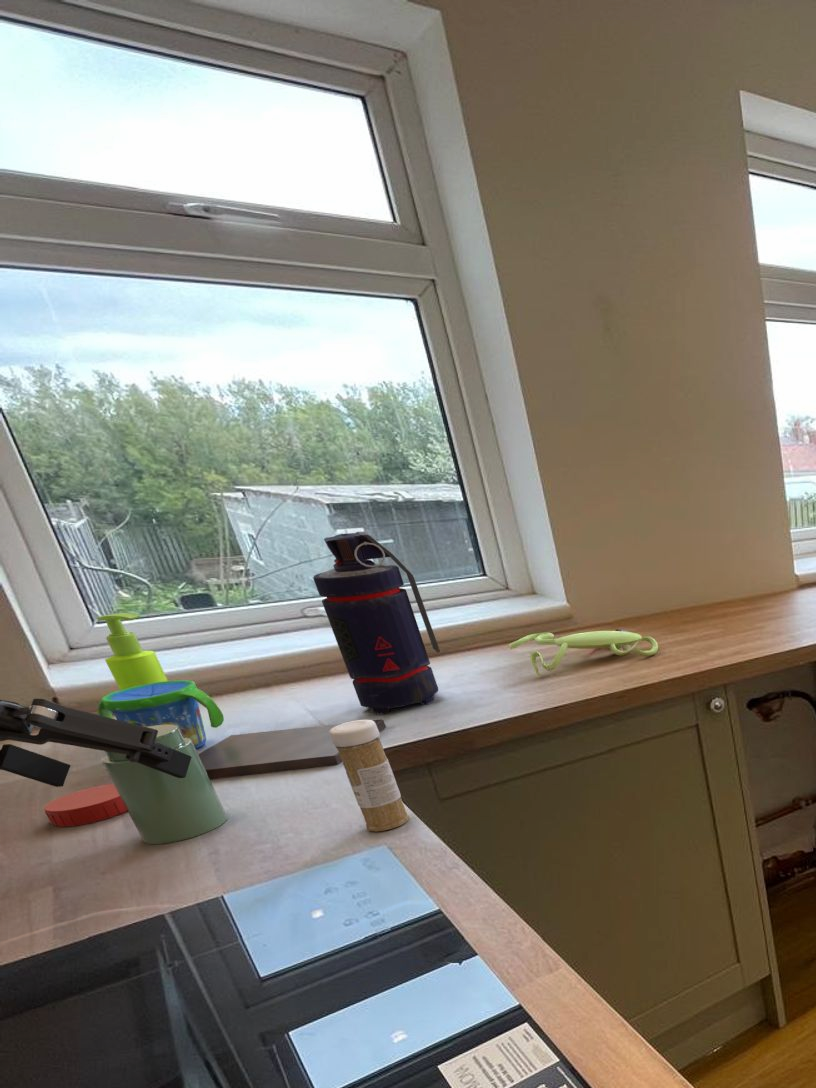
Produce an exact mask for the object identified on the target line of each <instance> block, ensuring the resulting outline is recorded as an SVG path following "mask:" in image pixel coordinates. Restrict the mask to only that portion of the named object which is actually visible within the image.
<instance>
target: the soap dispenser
mask: <svg viewBox="0 0 816 1088" xmlns="http://www.w3.org/2000/svg"><path fill="white" fill-rule="evenodd" d="M140 617H141V615H140V614H136V613H130V612H118V613H117V612H116V613H110V614H105V615H102V616H101V615H100V616H96V619H97V621H98V622H100V621H101V622H102V621H105V623H106V625H107V627H108V629H109V631H110V633H109V634H108V635H106V636H105V639H106V641H107V643H108V645H109V648H110V649H111V651H112V653H113V655H112V656H109V657H107V658H105V659H104V661H105V663H106V665H107V667H108V669H109V670H110V673H111V675H112V677H113V679H114V681H115V683H116V686H117V687H118V689H119V690H123V689H126V688H130V687H135V686H140V685H145V684H150V683H157V682H164V681H169V680H168V678H167V676H166V674H165V671H164V669H163V667H162V665H161V663H160V661H159V659H158V657H157V654H156V653H155V651H154V650H143V648H142V646H141V644H140V642H139V639H138V638H137V636H136V634H135V632H130V631H129V630H126V629H125V626H124V625H123V622H122V621H123V620H124V621H132V620H136V619H139V618H140Z"/></svg>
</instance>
